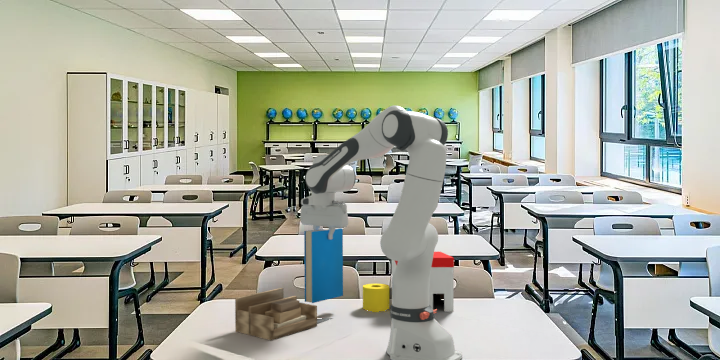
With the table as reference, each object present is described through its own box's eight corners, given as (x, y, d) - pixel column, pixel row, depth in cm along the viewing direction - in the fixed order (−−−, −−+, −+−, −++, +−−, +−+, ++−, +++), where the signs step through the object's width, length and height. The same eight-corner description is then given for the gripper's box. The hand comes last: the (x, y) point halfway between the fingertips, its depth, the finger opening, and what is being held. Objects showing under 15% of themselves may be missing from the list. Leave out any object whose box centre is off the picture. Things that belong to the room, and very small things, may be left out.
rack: (317, 326, 200) (316, 293, 200) (271, 340, 183) (271, 305, 183) (281, 318, 210) (281, 287, 210) (235, 331, 194) (235, 297, 194)
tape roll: (357, 310, 223) (357, 285, 222) (379, 306, 228) (379, 282, 228) (372, 315, 214) (372, 289, 214) (394, 312, 220) (394, 286, 220)
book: (312, 303, 205) (312, 231, 204) (303, 302, 208) (303, 231, 207) (344, 295, 218) (344, 227, 218) (335, 294, 221) (335, 227, 221)
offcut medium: (300, 316, 197) (300, 307, 197) (279, 323, 188) (279, 314, 188) (286, 314, 200) (286, 305, 200) (265, 321, 191) (265, 312, 191)
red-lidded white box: (397, 314, 216) (397, 258, 216) (391, 294, 251) (391, 245, 251) (454, 314, 216) (454, 257, 216) (440, 294, 251) (440, 245, 251)
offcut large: (306, 324, 198) (306, 315, 198) (277, 334, 187) (277, 324, 187) (290, 321, 202) (290, 312, 202) (261, 330, 191) (261, 321, 191)
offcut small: (299, 308, 196) (299, 300, 196) (281, 312, 190) (281, 304, 190) (289, 305, 199) (289, 298, 199) (271, 310, 193) (270, 302, 193)
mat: (352, 313, 218) (352, 312, 218) (315, 324, 202) (315, 323, 202) (331, 309, 224) (331, 308, 224) (294, 319, 208) (294, 318, 208)
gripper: (351, 200, 209) (352, 239, 209) (309, 199, 221) (309, 236, 221) (340, 201, 204) (340, 241, 204) (297, 199, 216) (297, 237, 216)
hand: (324, 238), depth 213 cm, fingers closed on book, 4 cm apart
